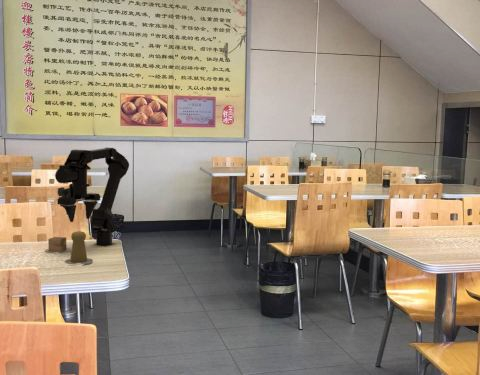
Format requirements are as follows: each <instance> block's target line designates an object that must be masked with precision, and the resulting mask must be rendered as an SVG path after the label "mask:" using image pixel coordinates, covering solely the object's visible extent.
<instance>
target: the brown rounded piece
mask: <svg viewBox="0 0 480 375" xmlns="http://www.w3.org/2000/svg"><path fill="white" fill-rule="evenodd" d="M70 238H71V240H72V246H71V254H70V259H71V260H70V262H72V263H83V262H86V261H87V258H88V256H87V249H86V242H85V240H86V238H87V234H86V232H84V231H82V230H81V231H80V230H79V231H78V230H77V231H74V232H72V233H71V236H70Z"/></svg>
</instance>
